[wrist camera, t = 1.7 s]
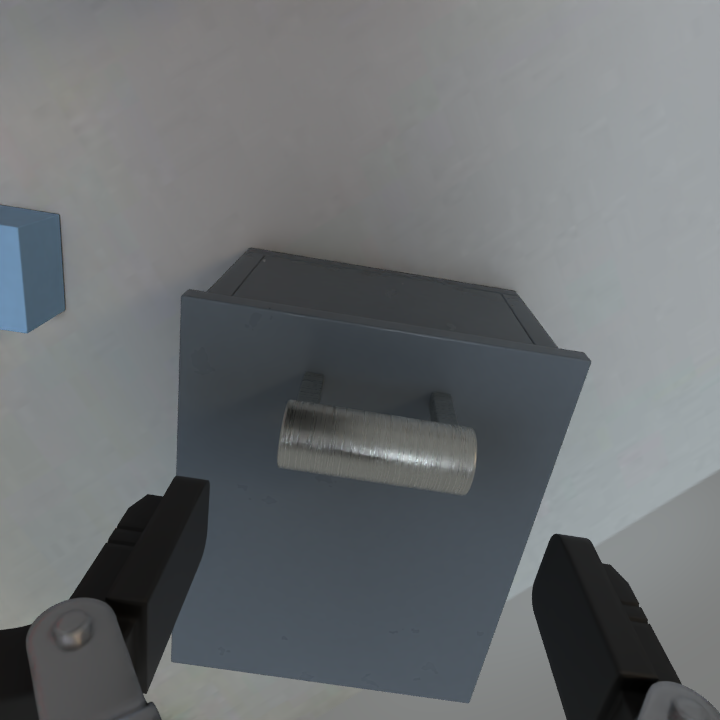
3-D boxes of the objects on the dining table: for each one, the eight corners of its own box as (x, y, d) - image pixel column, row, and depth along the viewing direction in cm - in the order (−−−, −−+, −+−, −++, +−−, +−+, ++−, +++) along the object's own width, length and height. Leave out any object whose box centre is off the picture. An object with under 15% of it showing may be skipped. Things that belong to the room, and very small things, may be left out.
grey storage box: (249, 247, 29) (187, 309, 20) (515, 290, 29) (577, 371, 20) (229, 509, 36) (176, 646, 26) (445, 541, 36) (467, 687, 27)
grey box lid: (188, 288, 19) (121, 348, 14) (584, 352, 20) (652, 431, 15) (176, 647, 26) (129, 770, 21) (467, 688, 27) (486, 817, 22)
